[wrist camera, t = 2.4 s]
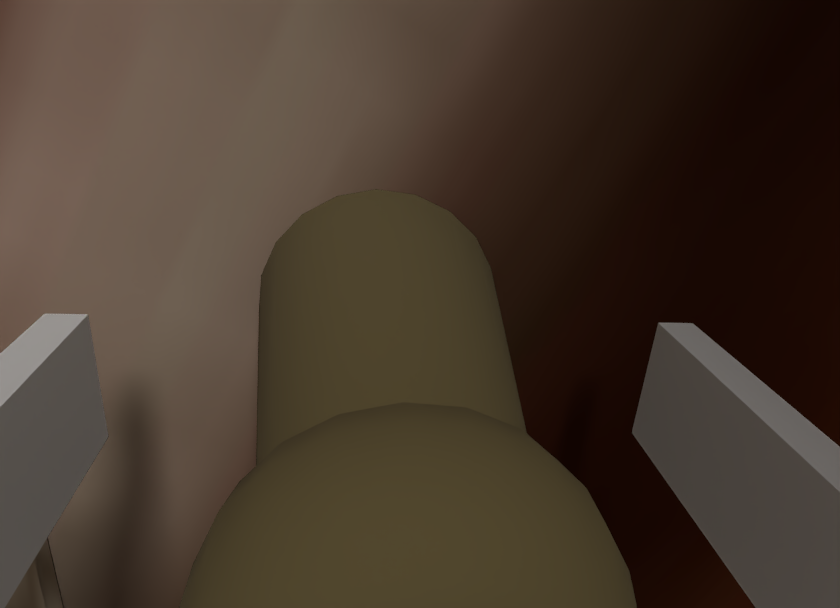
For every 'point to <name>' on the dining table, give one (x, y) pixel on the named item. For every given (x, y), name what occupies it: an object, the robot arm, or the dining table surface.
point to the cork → (396, 436)
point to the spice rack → (38, 584)
